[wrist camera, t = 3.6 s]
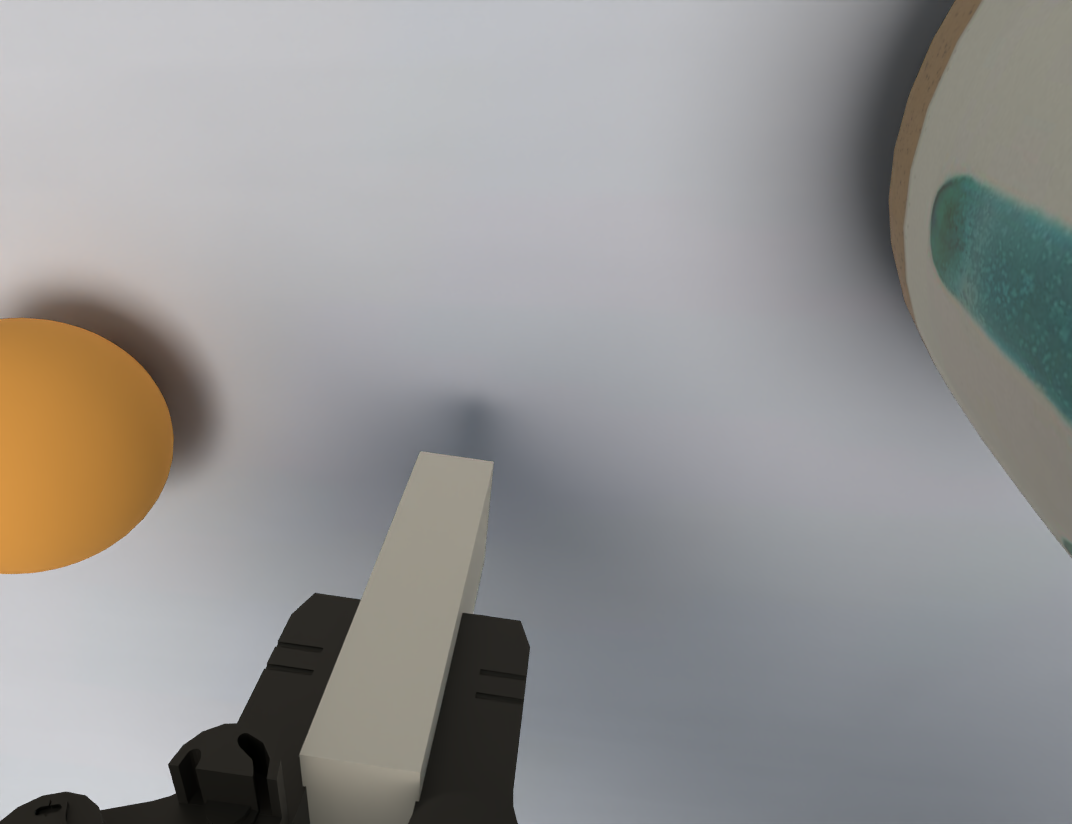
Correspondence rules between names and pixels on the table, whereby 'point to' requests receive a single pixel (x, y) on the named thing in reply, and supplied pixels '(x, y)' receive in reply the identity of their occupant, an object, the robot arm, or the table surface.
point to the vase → (996, 233)
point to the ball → (74, 444)
